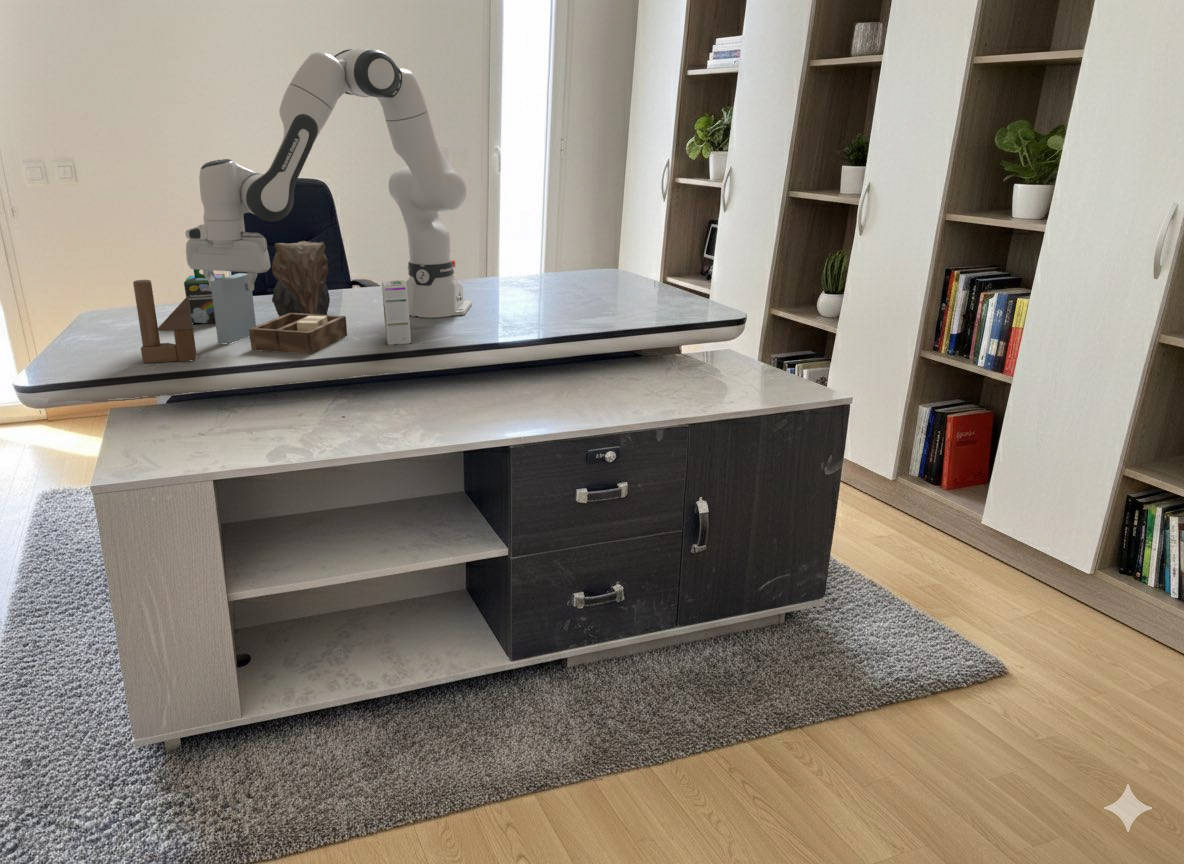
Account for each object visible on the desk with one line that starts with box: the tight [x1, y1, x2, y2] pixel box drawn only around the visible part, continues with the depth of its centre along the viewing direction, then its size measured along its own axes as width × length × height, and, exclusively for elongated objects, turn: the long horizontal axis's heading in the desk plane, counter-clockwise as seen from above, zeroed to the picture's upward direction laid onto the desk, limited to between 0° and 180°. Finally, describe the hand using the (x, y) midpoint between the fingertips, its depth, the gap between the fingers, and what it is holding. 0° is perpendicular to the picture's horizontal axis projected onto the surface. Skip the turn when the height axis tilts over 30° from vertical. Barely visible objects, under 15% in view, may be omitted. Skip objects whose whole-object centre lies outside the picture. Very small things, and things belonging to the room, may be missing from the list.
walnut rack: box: [249, 313, 348, 355], centre depth 224 cm, size 18×15×5 cm
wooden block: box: [132, 279, 197, 364], centre depth 205 cm, size 4×11×18 cm, turn 105°
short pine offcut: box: [297, 316, 327, 331], centre depth 222 cm, size 8×5×2 cm, turn 177°
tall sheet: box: [211, 272, 257, 345], centre depth 225 cm, size 12×3×15 cm, turn 168°
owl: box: [271, 240, 331, 317], centre depth 247 cm, size 13×13×20 cm
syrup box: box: [381, 280, 412, 346], centre depth 224 cm, size 6×6×14 cm
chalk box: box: [183, 269, 226, 324], centre depth 243 cm, size 9×9×15 cm
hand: (232, 289), depth 224 cm, fingers open, 8 cm apart
